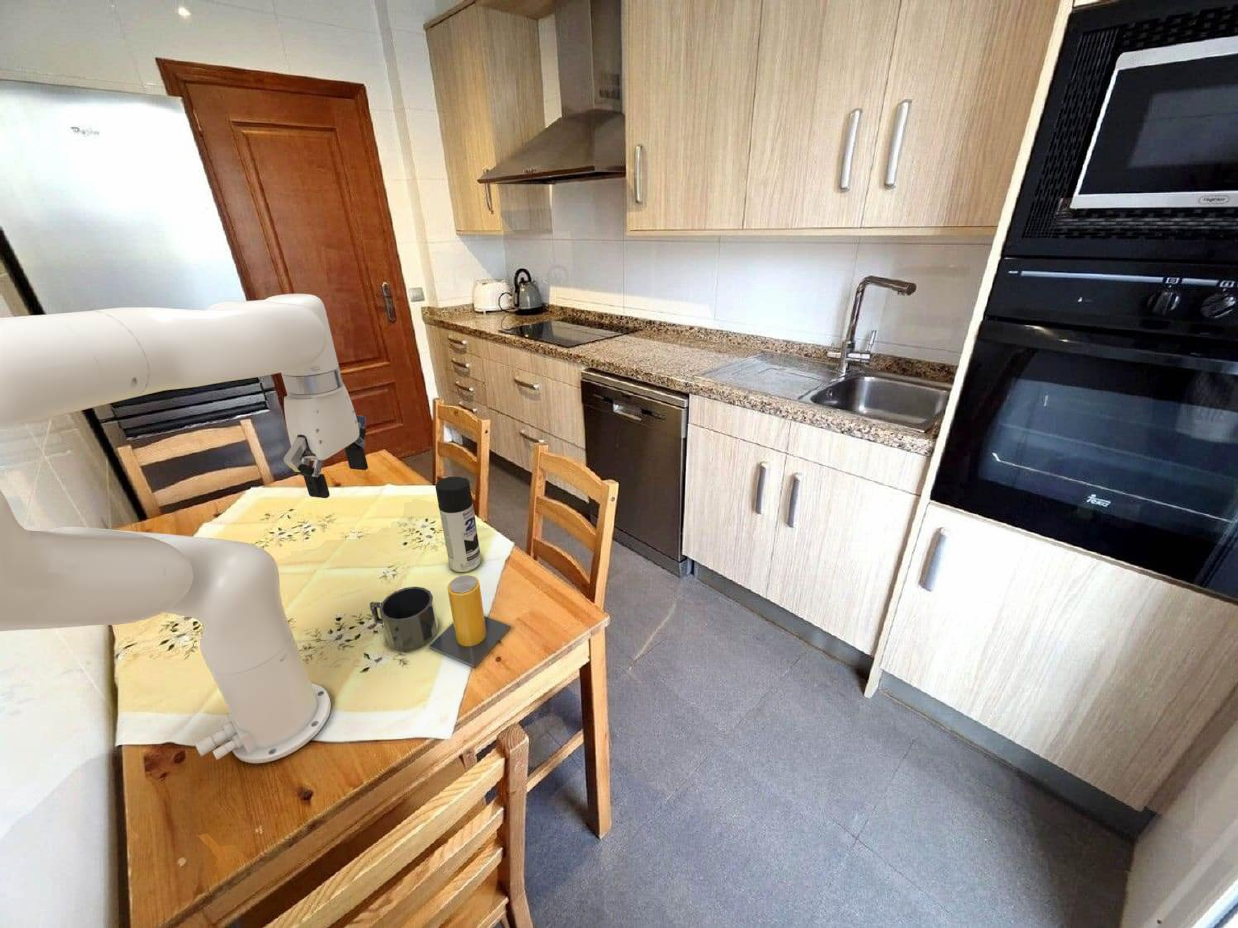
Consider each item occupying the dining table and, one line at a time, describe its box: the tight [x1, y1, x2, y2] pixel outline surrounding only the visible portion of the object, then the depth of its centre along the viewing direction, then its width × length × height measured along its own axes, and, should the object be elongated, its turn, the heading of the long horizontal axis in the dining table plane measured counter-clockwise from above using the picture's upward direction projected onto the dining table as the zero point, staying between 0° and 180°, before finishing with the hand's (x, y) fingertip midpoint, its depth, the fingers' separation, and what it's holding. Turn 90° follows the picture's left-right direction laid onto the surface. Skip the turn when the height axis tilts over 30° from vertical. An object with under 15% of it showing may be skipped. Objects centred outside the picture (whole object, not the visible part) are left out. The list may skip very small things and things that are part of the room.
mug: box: [369, 586, 439, 652], centre depth 89 cm, size 12×9×7 cm
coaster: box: [428, 615, 511, 669], centre depth 90 cm, size 10×10×1 cm
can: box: [446, 574, 486, 646], centre depth 87 cm, size 5×5×12 cm
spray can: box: [435, 476, 482, 573], centre depth 105 cm, size 7×7×20 cm
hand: (340, 482), depth 83 cm, fingers open, 9 cm apart
